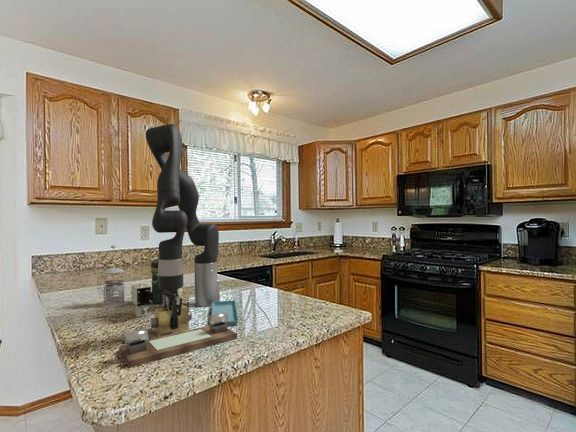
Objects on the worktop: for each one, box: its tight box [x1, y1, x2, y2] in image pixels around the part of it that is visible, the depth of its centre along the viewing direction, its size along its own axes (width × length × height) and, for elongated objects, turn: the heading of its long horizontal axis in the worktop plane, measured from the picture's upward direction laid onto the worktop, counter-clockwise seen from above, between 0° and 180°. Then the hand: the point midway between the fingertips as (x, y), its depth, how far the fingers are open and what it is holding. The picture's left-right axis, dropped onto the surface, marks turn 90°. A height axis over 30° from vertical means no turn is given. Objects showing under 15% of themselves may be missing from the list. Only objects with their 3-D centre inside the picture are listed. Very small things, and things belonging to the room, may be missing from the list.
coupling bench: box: [118, 312, 238, 368], centre depth 92 cm, size 29×12×6 cm, turn 127°
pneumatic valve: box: [130, 282, 153, 318], centre depth 121 cm, size 6×12×12 cm, turn 38°
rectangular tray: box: [210, 300, 240, 326], centre depth 119 cm, size 26×9×2 cm, turn 12°
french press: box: [96, 244, 128, 308], centre depth 138 cm, size 10×12×25 cm
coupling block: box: [150, 304, 192, 337], centre depth 104 cm, size 12×4×7 cm, turn 127°
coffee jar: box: [150, 258, 164, 304], centre depth 141 cm, size 10×8×19 cm
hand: (171, 326), depth 104 cm, fingers closed on coupling block, 4 cm apart
